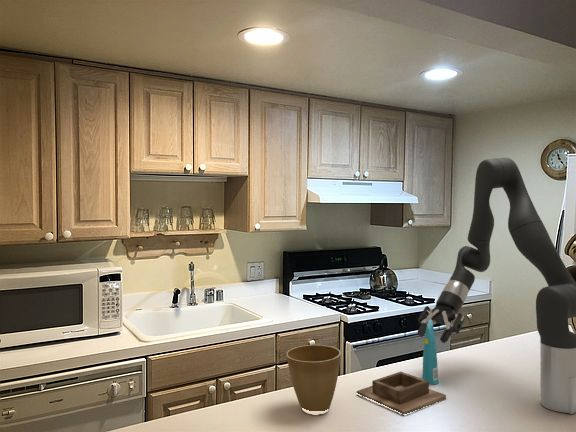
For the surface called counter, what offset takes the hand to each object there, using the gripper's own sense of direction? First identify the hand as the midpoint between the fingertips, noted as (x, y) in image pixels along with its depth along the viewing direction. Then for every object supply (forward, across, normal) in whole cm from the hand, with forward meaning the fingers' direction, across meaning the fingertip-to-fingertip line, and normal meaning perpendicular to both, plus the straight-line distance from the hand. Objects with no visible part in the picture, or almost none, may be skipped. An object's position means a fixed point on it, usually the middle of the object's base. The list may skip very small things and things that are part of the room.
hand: (430, 338), depth 151 cm
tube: (+10, 0, +9) cm, 14 cm away
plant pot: (+39, -7, -20) cm, 45 cm away
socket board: (+22, +2, -2) cm, 22 cm away
